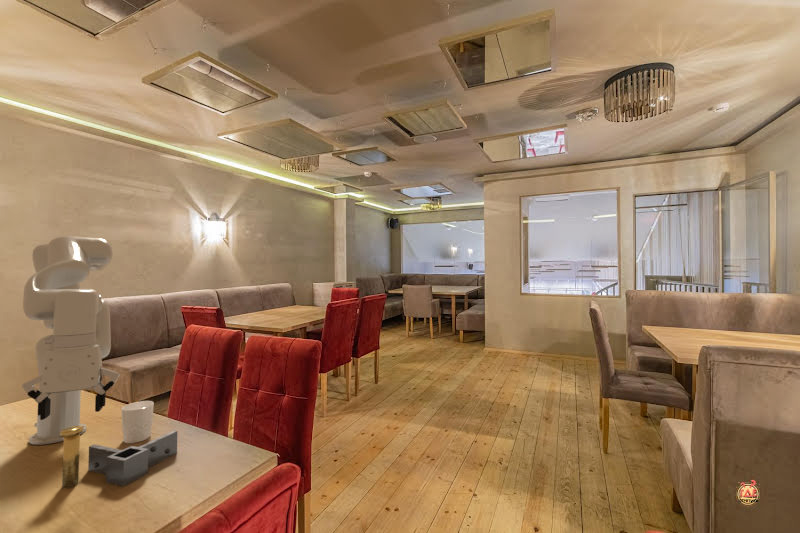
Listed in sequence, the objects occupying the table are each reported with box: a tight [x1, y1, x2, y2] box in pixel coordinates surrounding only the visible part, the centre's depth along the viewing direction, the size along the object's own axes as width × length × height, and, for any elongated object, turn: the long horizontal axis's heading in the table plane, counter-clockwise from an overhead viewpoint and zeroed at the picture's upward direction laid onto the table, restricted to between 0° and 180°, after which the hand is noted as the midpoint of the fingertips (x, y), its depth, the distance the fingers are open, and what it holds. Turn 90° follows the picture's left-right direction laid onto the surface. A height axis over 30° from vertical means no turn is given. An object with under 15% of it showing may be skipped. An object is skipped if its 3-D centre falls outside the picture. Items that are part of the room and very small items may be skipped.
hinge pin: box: [60, 426, 84, 489], centre depth 82 cm, size 4×4×13 cm
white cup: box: [121, 400, 155, 444], centre depth 106 cm, size 8×8×10 cm
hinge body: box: [87, 430, 178, 487], centre depth 91 cm, size 16×16×6 cm
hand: (72, 413), depth 82 cm, fingers open, 9 cm apart
